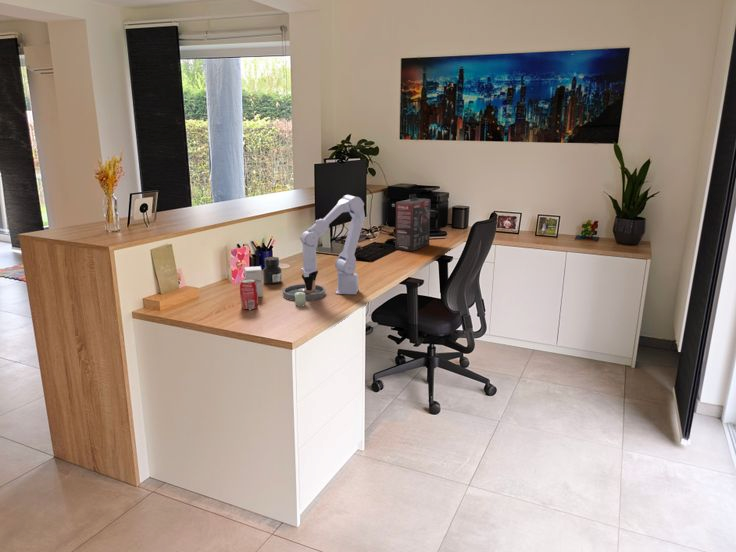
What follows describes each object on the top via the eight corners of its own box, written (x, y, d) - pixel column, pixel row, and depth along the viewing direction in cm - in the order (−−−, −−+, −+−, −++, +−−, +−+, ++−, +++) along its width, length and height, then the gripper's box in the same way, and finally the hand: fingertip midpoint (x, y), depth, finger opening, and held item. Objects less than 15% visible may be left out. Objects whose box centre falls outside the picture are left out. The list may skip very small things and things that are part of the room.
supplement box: (246, 298, 245) (244, 270, 242) (245, 293, 252) (243, 266, 249) (263, 296, 247) (261, 269, 244) (261, 292, 254) (260, 265, 250)
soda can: (251, 304, 236) (249, 277, 233) (261, 307, 232) (260, 280, 229) (237, 308, 231) (235, 280, 228) (248, 311, 227) (246, 283, 224)
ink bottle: (277, 285, 265) (276, 261, 262) (260, 284, 266) (259, 260, 263) (284, 280, 274) (283, 256, 271) (268, 279, 276) (266, 255, 273)
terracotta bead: (316, 290, 247) (316, 279, 246) (314, 293, 243) (313, 282, 242) (306, 290, 248) (306, 279, 247) (304, 293, 244) (304, 281, 242)
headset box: (413, 242, 362) (414, 192, 353) (430, 245, 356) (431, 193, 347) (394, 249, 342) (395, 195, 333) (412, 252, 335) (413, 197, 327)
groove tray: (328, 289, 258) (328, 284, 258) (320, 301, 240) (320, 296, 240) (289, 287, 261) (289, 283, 260) (278, 299, 243) (277, 295, 242)
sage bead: (306, 303, 238) (306, 292, 236) (304, 306, 234) (303, 295, 232) (296, 303, 238) (296, 291, 237) (294, 306, 234) (293, 294, 233)
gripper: (304, 254, 249) (305, 283, 253) (296, 262, 235) (297, 292, 239) (319, 255, 248) (320, 284, 252) (312, 262, 234) (313, 293, 238)
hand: (310, 288), depth 245 cm, fingers closed on terracotta bead, 4 cm apart
